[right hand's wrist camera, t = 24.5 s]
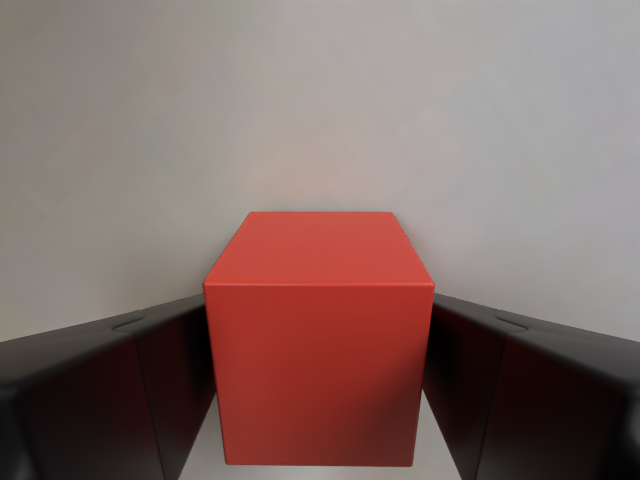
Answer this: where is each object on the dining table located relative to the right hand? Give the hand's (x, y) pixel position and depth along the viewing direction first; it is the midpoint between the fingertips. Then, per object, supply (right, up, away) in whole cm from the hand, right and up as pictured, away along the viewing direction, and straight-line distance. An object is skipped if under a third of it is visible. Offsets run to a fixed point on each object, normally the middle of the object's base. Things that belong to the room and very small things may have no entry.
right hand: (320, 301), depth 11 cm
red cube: (0, 0, +1) cm, 2 cm away
